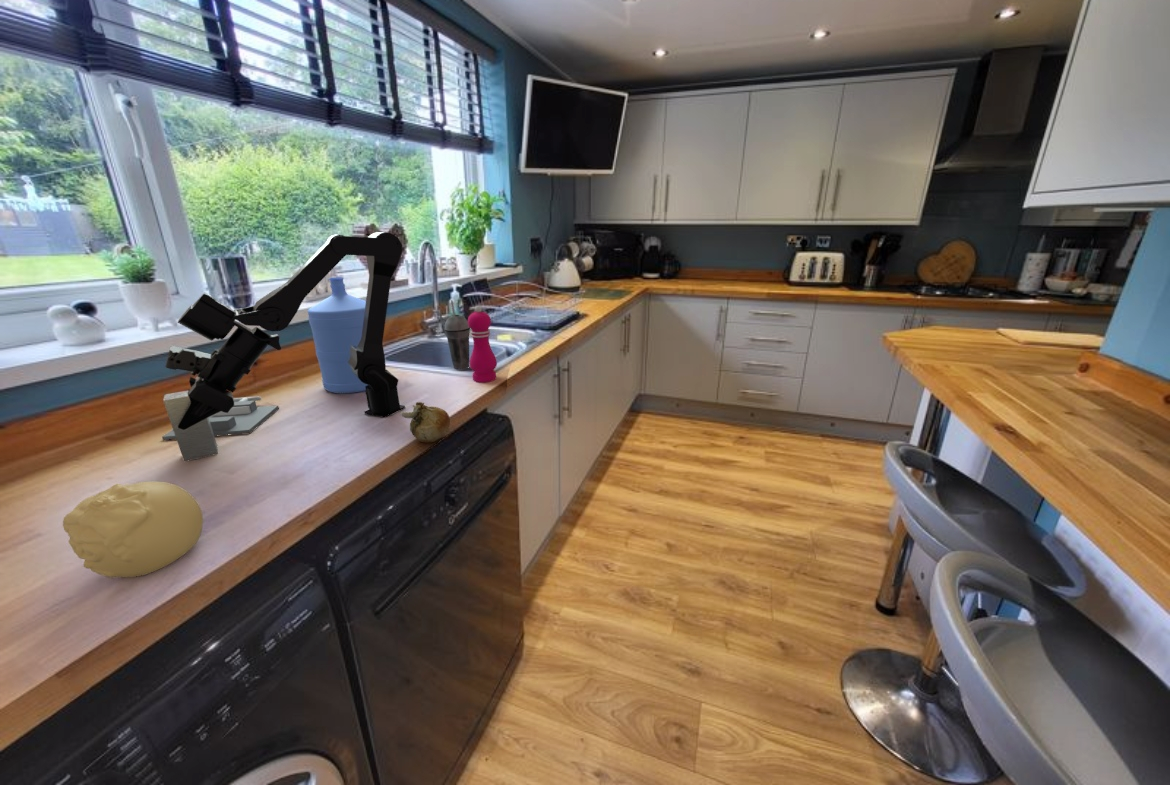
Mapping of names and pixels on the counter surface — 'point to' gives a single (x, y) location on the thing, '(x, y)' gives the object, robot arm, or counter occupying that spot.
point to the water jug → (337, 337)
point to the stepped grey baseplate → (237, 418)
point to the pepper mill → (481, 347)
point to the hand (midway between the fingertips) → (181, 423)
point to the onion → (427, 422)
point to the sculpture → (134, 528)
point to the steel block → (189, 429)
